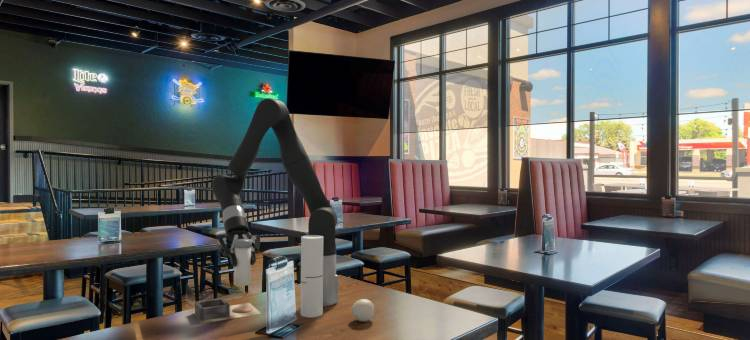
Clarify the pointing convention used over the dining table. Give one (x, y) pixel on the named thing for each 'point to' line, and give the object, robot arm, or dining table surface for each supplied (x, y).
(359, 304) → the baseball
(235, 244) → the cylinder
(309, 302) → the cylindrical container
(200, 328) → the dining table surface
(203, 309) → the socket board
